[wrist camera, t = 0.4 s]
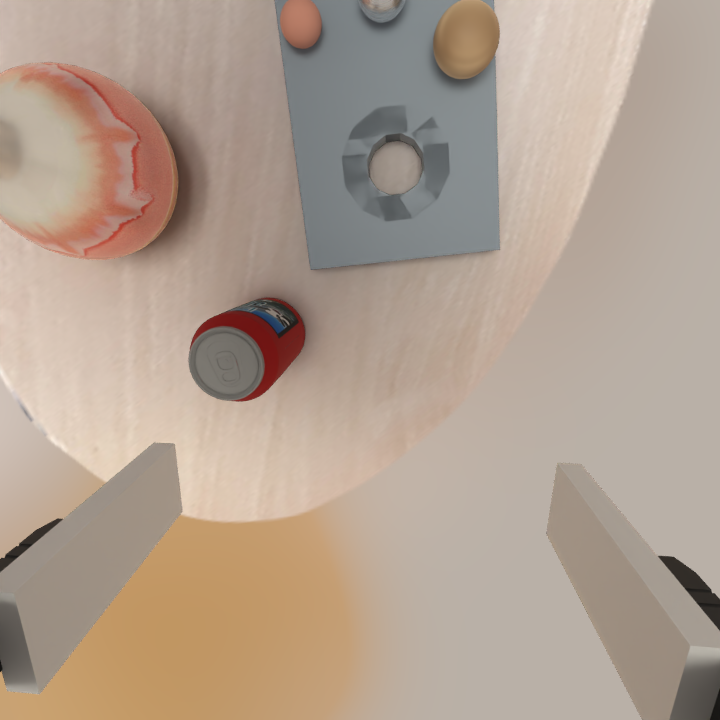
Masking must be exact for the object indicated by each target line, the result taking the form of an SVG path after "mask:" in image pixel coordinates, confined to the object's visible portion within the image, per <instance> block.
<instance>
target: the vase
mask: <svg viewBox="0 0 720 720" xmlns="http://www.w3.org/2000/svg"><path fill="white" fill-rule="evenodd" d="M177 195H178V172H177V164H176V160H175V156H174V152H173V150H172V147H171V145H170V142H169V140H168V138H167V136H166V134H165V132H164V131H163V129H162V127H161V125H160V124H159V122H158V121H157V120H156V118H155V117H154V116H153V114H152V113H151V112H150V110H149V109H148V108H147V107H146V106H145V105H144V104H143V103H142V102H141V101H139V100H138V99H137V98H136V97H135V96H134V95H133V94H132V93H130V92H129V91H128V90H126V89H125V88H123V87H122V86H121V85H119V84H118V83H116V82H114V81H112V80H110V79H108V78H107V77H105V76H103V75H101V74H98V73H96V72H93V71H90V70H87V69H84V68H81V67H78V66H74V65H68V64H61V63H54V62H46V63H29V64H25V65H21V66H17V67H14V68H11V69H8V70H6V71H4V72H2V73H0V219H1V220H2V221H3V222H5V223H6V224H7V225H8V226H9V227H10V228H12V229H13V230H14V231H15V232H17V233H18V234H20V235H21V236H23V237H24V238H26V239H27V240H29V241H31V242H33V243H35V244H37V245H39V246H41V247H43V248H45V249H47V250H50V251H53V252H56V253H59V254H62V255H65V256H69V257H75V258H81V259H87V260H107V259H113V258H119V257H124V256H126V255H129V254H132V253H134V252H137V251H139V250H141V249H142V248H144V247H146V246H147V245H149V244H150V243H151V242H152V241H153V240H155V239H156V238H157V237H158V236H159V235H160V234H161V232H162V231H163V230H164V228H165V227H166V226H167V224H168V222H169V220H170V218H171V216H172V214H173V211H174V208H175V205H176V200H177Z"/></svg>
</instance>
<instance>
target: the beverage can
mask: <svg viewBox="0 0 720 720" xmlns="http://www.w3.org/2000/svg"><path fill="white" fill-rule="evenodd" d="M304 340H305V329H304V325H303V322H302V320H301V318H300V316H299V314H298V313H297V312H296V310H295V309H294V308H293V307H291V306H290V305H289V304H287V303H286V302H284V301H281V300H279V299H275V298H261V299H258V300H255V301H252V302H249V303H246V304H244V305H241V306H239V307H236V308H234V309H231V310H229V311H226V312H224V313H221V314H219V315H217V316H214V317H212V318H210V319H209V320H207V321H206V322H204V323H203V324H202V325H201V326H200V327H199V328H198V330H197V331H196V333H195V335H194V337H193V339H192V342H191V346H190V352H189V368H190V372H191V374H192V377H193V379H194V380H195V382H196V383H197V385H198V386H199V387H200V388H201V389H202V390H203V391H204V392H206V393H207V394H209V395H210V396H212V397H215V398H217V399H221V400H227V401H248V400H252V399H254V398H257V397H259V396H260V395H262V394H263V393H265V392H266V391H267V390H268V389H269V388H270V387H271V386H272V385H273V384H274V382H275V381H276V380H277V379H278V378H279V377H280V376H281V375H282V374H283V372H284V371H285V370H286V369H287V368H288V367H289V365H290V364H291V363H292V362H293V361H294V359H295V358H296V357H297V356H298V354H299V353H300V351H301V350H302V347H303V345H304Z"/></svg>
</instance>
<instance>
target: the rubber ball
mask: <svg viewBox="0 0 720 720" xmlns="http://www.w3.org/2000/svg"><path fill="white" fill-rule="evenodd" d="M280 26H281V30H282V33H283V35H284V37H285V38H286V40H287V41H288V42H289V43H290V44H291V45H292V46H294V47H296V48H300V49H306V48H309V47H311V46H313V45H314V44H315V43H316V42H317V40H318V38H319V36H320V34H321V29H322V20H321V16H320V13H319V10H318V8H317V7H316V5H315V4H314V3H313V2H312V1H311V0H288V1H287V2H286V3H285V5H284V6H283V8H282V11H281V15H280Z"/></svg>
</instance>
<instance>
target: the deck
mask: <svg viewBox="0 0 720 720" xmlns="http://www.w3.org/2000/svg"><path fill="white" fill-rule="evenodd" d="M287 1H288V0H275V6H276V14H277V21H278V29H279V36H280V44H281V51H282V59H283V66H284V74H285V81H286V89H287V96H288V104H289V111H290V119H291V126H292V134H293V141H294V149H295V156H296V164H297V171H298V179H299V186H300V194H301V201H302V209H303V216H304V224H305V231H306V239H307V246H308V254H309V261H310V269H311V270H314V269H323V268H333V267H342V266H351V265H361V264H370V263H380V262H389V261H398V260H408V259H417V258H426V257H436V256H445V255H455V254H464V253H473V252H483V251H492V250H500V239H499V195H498V152H497V108H496V65H495V55H494V57H493V59H492V60H491V62H490V63H489V65H488V66H487V67H486V68H485V69H484V70H483V71H482V72H480V73H479V74H478V75H476V76H474V77H471V78H468V79H456V78H452V77H450V76H448V75H447V74H445V73H444V72H443V71H442V70H441V69H440V67H439V66H438V64H437V62H436V59H435V56H434V51H433V39H434V33H435V30H436V27H437V24H438V22H439V20H440V18H441V17H442V15H443V14H444V13H445V11H446V10H447V9H448V8H449V7H451V6H452V5H453V4H455V3H457V2H458V1H461V0H406V1H405V4H404V6H403V8H402V10H401V11H400V13H399V14H398V15H397V16H396V17H395V18H393V19H392V20H390V21H388V22H383V23H379V22H375V21H373V20H371V19H369V18H368V17H367V16H366V15H365V14H364V12H363V11H362V9H361V7H360V5H359V1H358V0H311V1H312V2H313V3H314V4H315V5H316V7H317V8H318V10H319V13H320V16H321V20H322V29H321V34H320V36H319V38H318V40H317V42H316V43H315V44H314V45H313V46H311V47H309V48H306V49H300V48H296V47H294V46H292V45H291V44H290V43H289V42H288V41H287V40H286V38H285V37H284V35H283V33H282V30H281V26H280V15H281V11H282V8H283V6H284V5H285V3H286V2H287ZM481 1H483V2H485V3H486V4H488V5H489V6H490V7H491V8H492V10H493V11H494V0H481ZM400 140H401V141H403V142H405V143H407V144H409V145H411V146H413V147H414V148H415V150H416V152H417V153H418V155H419V156H420V158H421V162H422V175H421V177H420V180H419V182H418V184H417V185H416V186H414V187H413V188H412V189H410V190H409V191H408V192H407V193H405V194H397V195H389V194H387V193H384V192H382V191H380V190H378V189H377V188H376V187H375V185H374V184H373V182H372V181H371V179H370V174H369V164H370V162H371V159H372V157H373V154H374V152H375V151H376V150H377V149H378V148H380V147H381V146H382V145H383V144H385V143H386V142H392V141H400Z"/></svg>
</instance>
